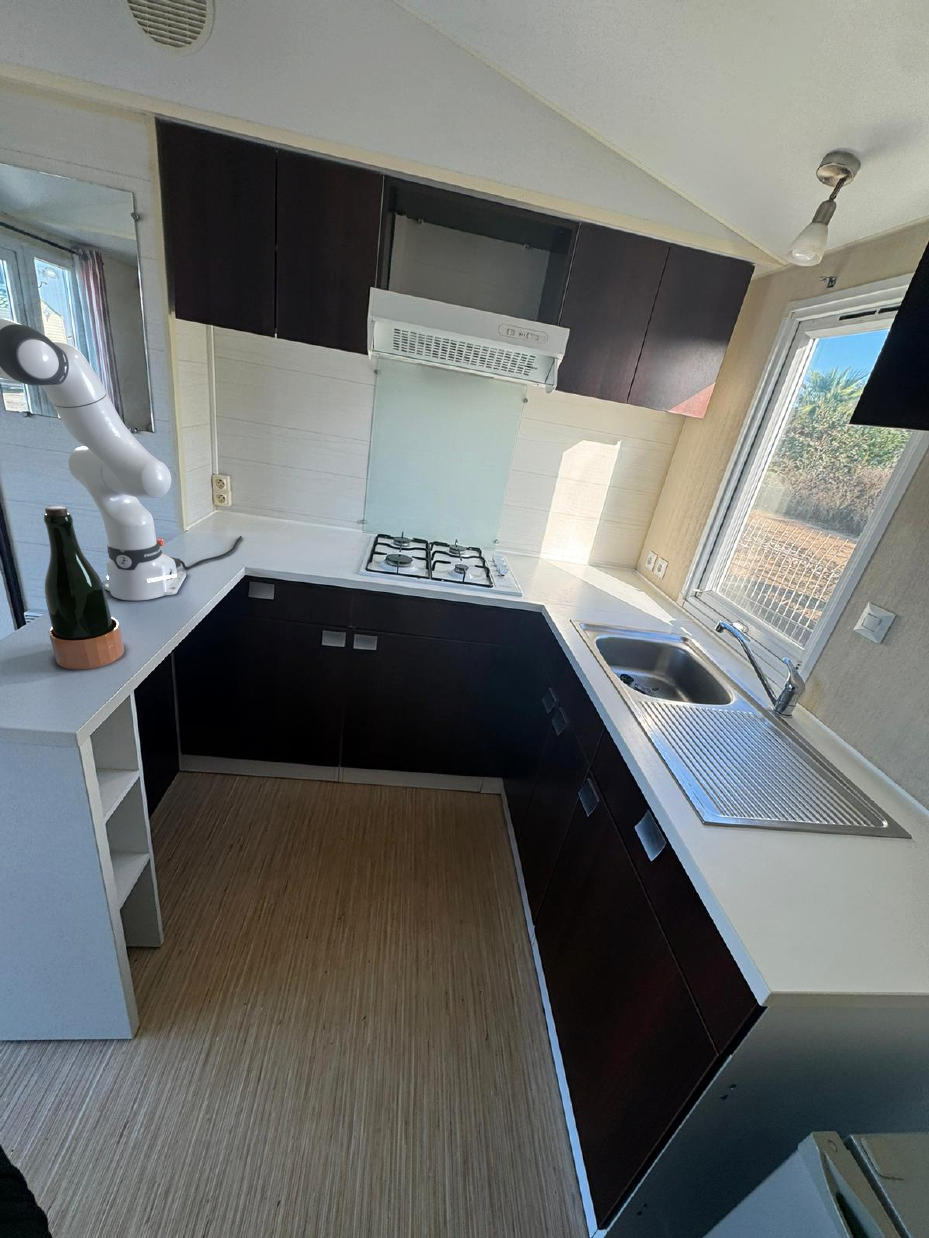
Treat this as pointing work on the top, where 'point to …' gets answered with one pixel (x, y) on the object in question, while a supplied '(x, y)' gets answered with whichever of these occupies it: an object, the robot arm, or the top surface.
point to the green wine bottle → (72, 584)
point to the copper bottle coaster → (88, 650)
